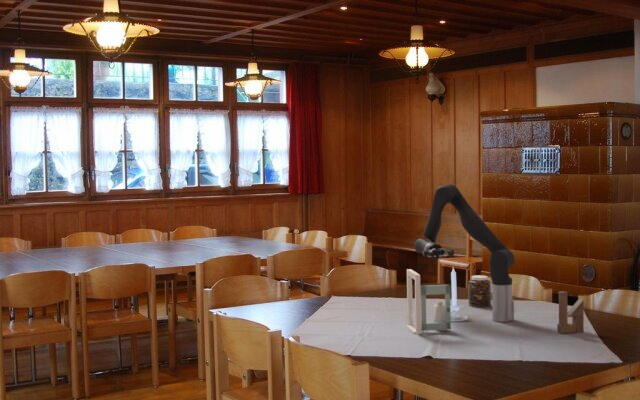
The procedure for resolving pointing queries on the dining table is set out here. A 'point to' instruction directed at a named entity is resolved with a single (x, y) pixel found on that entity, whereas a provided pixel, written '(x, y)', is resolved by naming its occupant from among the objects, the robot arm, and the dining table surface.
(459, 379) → the dining table surface
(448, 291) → the grey-green rectangular frame
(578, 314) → the wooden braced frame
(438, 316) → the white candle
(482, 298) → the jar
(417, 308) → the door frame
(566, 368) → the dining table surface
